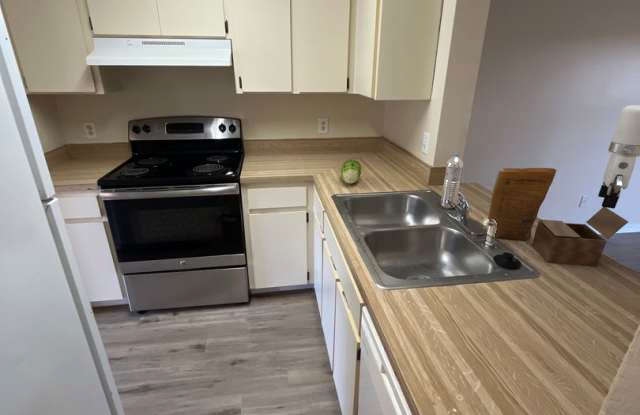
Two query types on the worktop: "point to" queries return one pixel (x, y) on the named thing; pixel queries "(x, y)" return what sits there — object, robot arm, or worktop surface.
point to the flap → (606, 222)
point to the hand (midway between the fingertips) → (605, 202)
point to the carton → (568, 243)
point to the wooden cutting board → (518, 200)
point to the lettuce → (351, 171)
